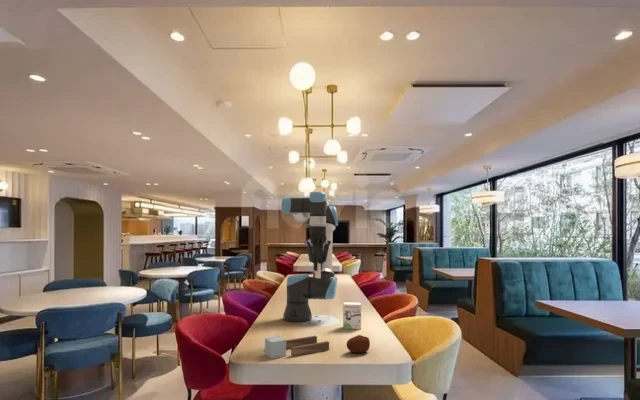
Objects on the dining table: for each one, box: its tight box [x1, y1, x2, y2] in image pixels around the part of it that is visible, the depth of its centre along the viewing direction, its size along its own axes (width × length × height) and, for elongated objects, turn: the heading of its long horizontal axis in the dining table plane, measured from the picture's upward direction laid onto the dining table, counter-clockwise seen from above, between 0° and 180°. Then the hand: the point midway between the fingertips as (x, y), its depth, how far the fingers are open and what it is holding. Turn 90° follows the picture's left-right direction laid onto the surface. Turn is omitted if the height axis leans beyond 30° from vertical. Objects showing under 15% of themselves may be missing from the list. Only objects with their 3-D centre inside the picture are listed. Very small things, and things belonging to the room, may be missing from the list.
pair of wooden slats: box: [285, 335, 330, 357], centre depth 157 cm, size 11×16×3 cm
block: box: [264, 335, 287, 359], centre depth 150 cm, size 6×6×6 cm
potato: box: [345, 334, 371, 354], centre depth 153 cm, size 7×9×6 cm
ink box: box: [342, 301, 362, 330], centre depth 191 cm, size 9×5×12 cm, turn 88°
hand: (317, 277), depth 179 cm, fingers closed
